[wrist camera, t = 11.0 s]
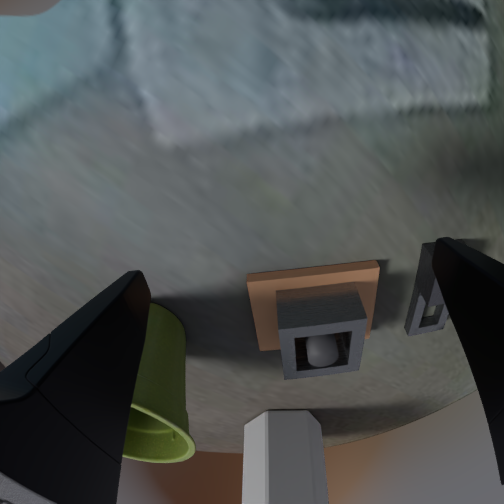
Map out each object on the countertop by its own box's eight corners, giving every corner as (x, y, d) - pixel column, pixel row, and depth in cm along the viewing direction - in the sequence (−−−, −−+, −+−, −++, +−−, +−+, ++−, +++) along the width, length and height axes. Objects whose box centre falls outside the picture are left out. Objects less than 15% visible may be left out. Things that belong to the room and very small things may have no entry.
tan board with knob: (375, 260, 23) (399, 308, 19) (366, 330, 28) (381, 377, 23) (247, 274, 24) (244, 327, 19) (259, 342, 28) (259, 392, 24)
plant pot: (232, 309, 26) (221, 433, 17) (186, 377, 32) (171, 471, 23) (100, 253, 23) (34, 362, 14) (85, 336, 29) (47, 425, 20)
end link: (354, 281, 23) (367, 318, 20) (349, 334, 26) (358, 370, 23) (275, 290, 24) (278, 329, 20) (282, 342, 27) (284, 379, 24)
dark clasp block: (461, 239, 22) (479, 259, 19) (438, 320, 27) (449, 342, 25) (422, 243, 22) (438, 265, 20) (404, 327, 27) (413, 350, 25)
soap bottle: (244, 436, 40) (239, 573, 22) (245, 408, 35) (239, 578, 17) (313, 435, 41) (323, 569, 22) (327, 407, 36) (344, 570, 17)
